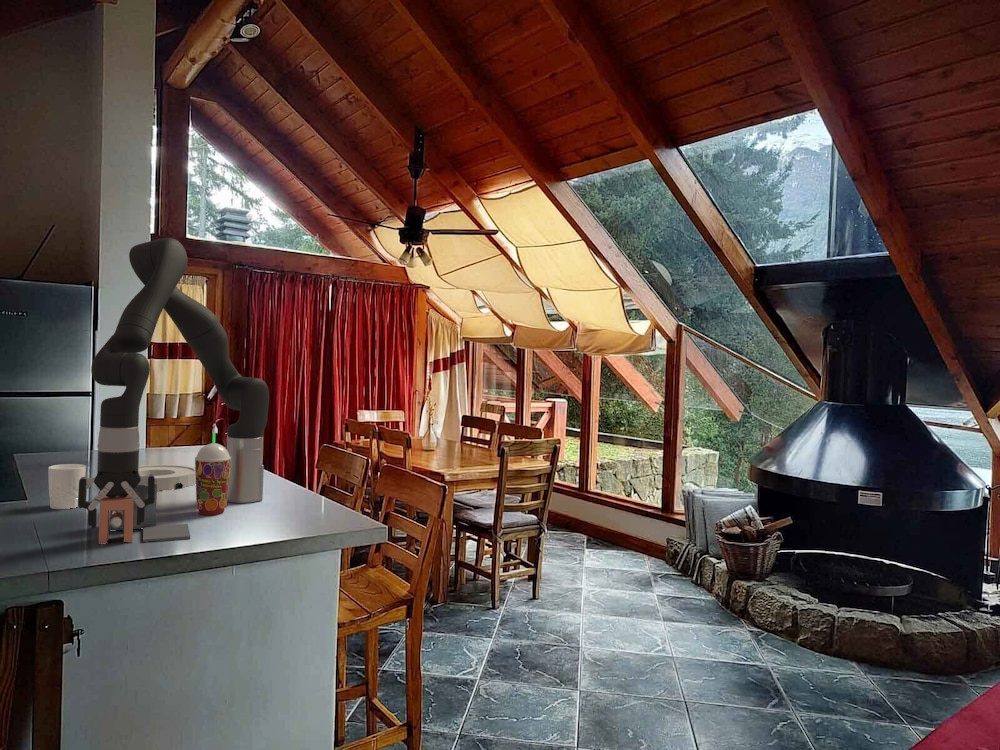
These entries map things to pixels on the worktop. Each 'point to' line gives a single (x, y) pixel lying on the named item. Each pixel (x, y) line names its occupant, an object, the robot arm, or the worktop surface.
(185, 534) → the mat
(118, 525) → the vise block
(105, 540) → the notched orange block
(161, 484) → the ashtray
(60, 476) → the white cup
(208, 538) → the worktop surface
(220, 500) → the smoothie
